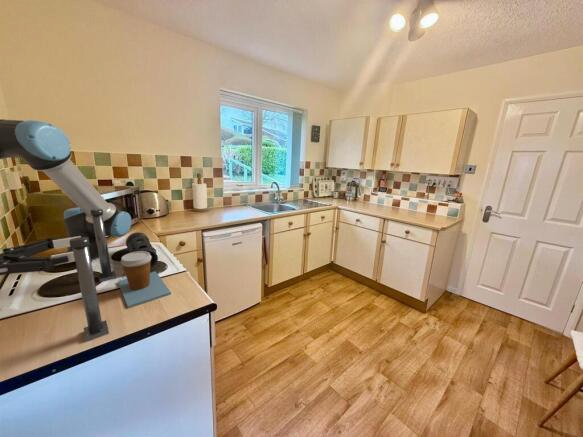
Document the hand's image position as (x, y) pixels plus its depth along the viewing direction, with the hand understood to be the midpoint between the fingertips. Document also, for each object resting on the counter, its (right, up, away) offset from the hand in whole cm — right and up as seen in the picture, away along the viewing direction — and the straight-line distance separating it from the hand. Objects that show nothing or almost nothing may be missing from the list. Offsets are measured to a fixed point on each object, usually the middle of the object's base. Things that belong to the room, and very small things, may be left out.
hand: (82, 246), depth 72 cm
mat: (+9, -17, +15) cm, 25 cm away
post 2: (-9, -15, +21) cm, 28 cm away
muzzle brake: (-6, -11, +38) cm, 40 cm away
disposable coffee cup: (+8, -17, +16) cm, 24 cm away
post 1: (+10, -23, -6) cm, 26 cm away
